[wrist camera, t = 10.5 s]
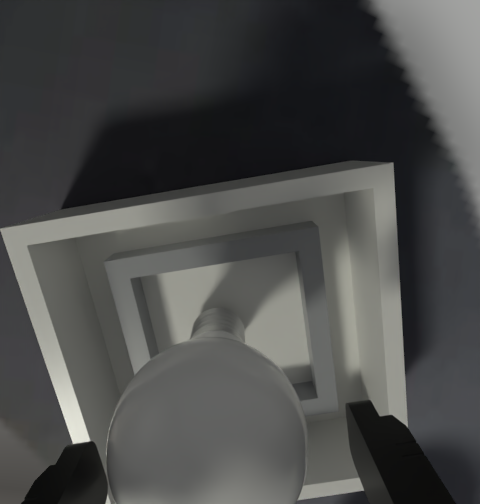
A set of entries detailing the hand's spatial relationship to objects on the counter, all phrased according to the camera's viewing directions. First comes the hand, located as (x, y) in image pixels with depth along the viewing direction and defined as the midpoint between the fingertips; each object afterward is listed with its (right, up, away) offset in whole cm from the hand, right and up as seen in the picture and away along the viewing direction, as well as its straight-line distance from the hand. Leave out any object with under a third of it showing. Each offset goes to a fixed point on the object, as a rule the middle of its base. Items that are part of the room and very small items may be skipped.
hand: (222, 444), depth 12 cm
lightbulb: (-1, +2, +8) cm, 8 cm away
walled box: (0, +2, +9) cm, 9 cm away
